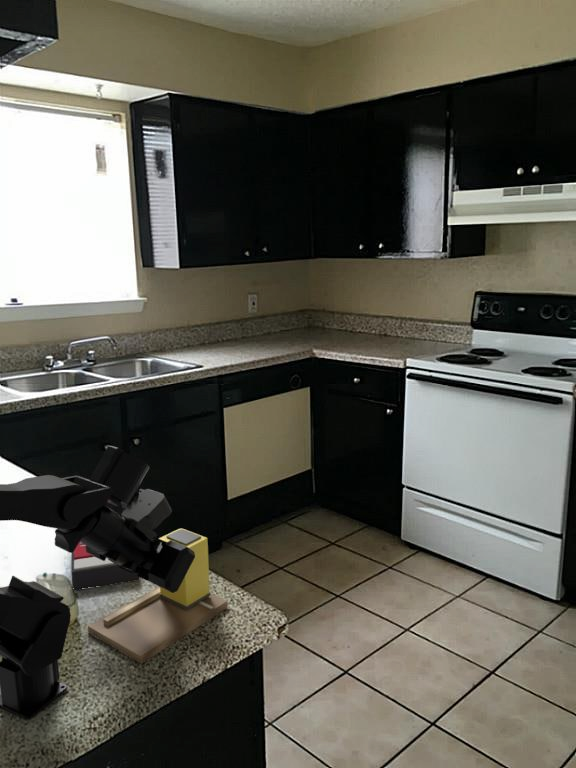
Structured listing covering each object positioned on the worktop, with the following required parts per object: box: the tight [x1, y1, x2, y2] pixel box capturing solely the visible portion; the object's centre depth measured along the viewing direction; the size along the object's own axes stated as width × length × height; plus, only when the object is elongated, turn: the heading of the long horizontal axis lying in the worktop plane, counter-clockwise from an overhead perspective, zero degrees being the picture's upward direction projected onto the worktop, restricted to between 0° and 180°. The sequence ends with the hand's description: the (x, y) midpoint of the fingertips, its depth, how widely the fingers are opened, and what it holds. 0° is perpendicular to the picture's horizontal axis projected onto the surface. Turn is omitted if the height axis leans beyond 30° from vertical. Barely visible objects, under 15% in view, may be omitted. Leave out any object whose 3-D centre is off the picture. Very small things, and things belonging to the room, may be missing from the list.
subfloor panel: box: [87, 586, 229, 665], centre depth 101 cm, size 18×12×2 cm
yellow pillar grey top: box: [158, 528, 212, 610], centre depth 104 cm, size 5×6×10 cm
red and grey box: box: [70, 542, 141, 591], centre depth 118 cm, size 11×4×15 cm
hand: (170, 572), depth 102 cm, fingers closed, pressing on yellow pillar grey top
